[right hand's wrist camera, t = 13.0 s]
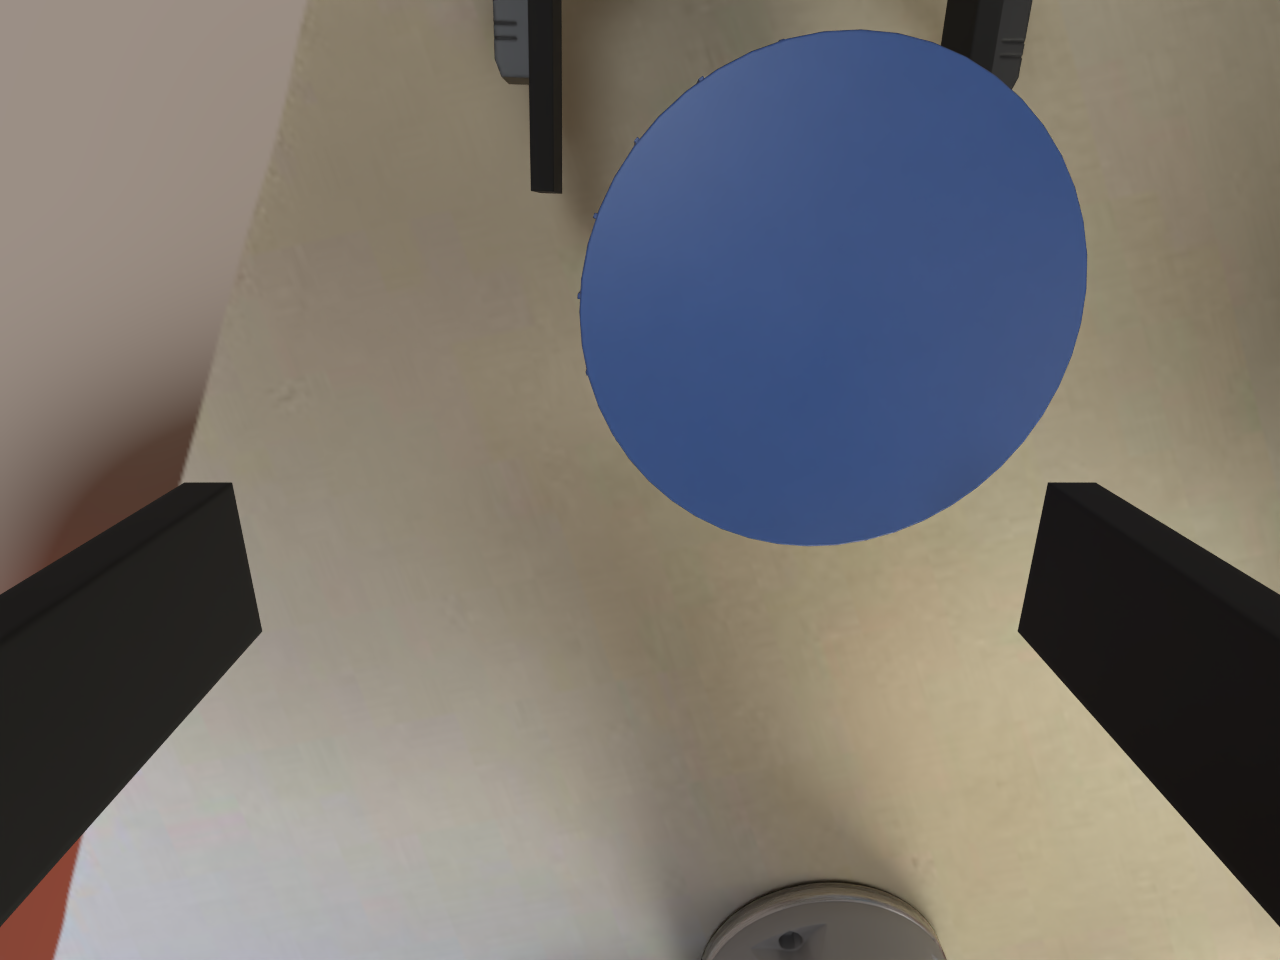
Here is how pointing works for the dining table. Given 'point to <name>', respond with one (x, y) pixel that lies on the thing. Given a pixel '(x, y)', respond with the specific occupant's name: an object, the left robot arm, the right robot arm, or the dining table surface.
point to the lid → (833, 287)
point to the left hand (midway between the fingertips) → (745, 200)
